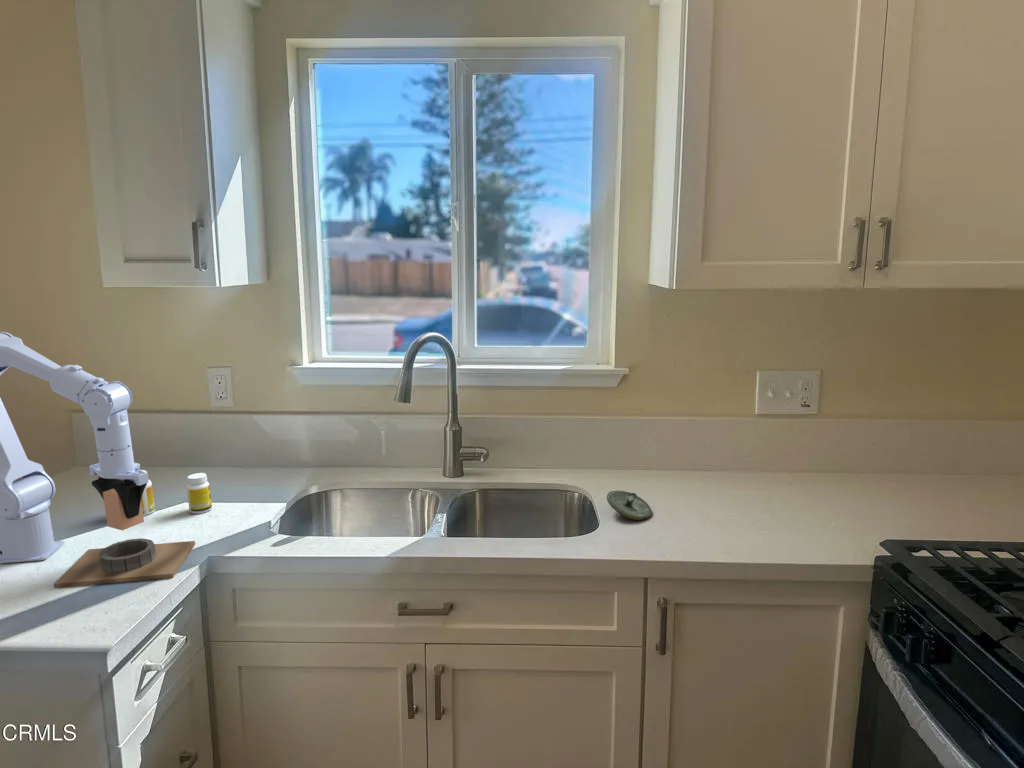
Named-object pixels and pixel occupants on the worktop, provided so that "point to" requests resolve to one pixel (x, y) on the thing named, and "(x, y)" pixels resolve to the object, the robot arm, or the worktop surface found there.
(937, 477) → the worktop surface
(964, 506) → the worktop surface
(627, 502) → the lid
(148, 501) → the supplement bottle
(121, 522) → the peg block
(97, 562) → the collar board
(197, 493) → the supplement bottle
